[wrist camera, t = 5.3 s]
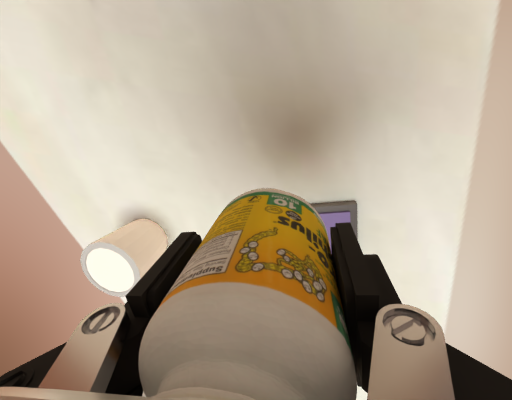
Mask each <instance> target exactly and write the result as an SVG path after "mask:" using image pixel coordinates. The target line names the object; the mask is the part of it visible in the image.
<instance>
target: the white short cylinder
mask: <svg viewBox="0 0 512 400" xmlns="http://www.w3.org/2000/svg"><path fill="white" fill-rule="evenodd" d="M167 246H168V241H167V236H166V234H165V232H164V230H163V229H162V228H161V227H160V226H159V225H158V224H157V223H155V222H153V221H151V220H149V219H142V218H141V219H138V220H134V221H132V222H131V223H129V224H127V225H125V226H123V227H121V228H119V229H117V230H115V231H114V232H112V233H110V234H108V235H106V236H104V237H102V238H100V239H98V240H97V241H95V242H93V243H91V244H89V245H88V246H87V247H86V248H85V249H84V250H83V251H82V255H81V265H82V269H83V272H84V273H85V275H86V276H87V278H88V280H89V281H90V282H91V283H92V284H93V285H94V286H95V287H97V288H98V289H99V290H101V291H103V292H105V293H107V294H109V295H112V296H118V297H124V296H126V295H127V294H128V293H129V291H130V290H131V289H132V288H133V287H134V286H135V285H136V284H137V282H138V281H139V280H140V279H141V278H142V277H143V276H144V275H145V273H146V272H147V271H148V270H149V269H150V268H151V267H152V266H153V264H154V263H155V262H156V261H157V260H158V259H159V258H160V256H161V255H162V254H163V253H164V252H165V251H166V248H167Z"/></svg>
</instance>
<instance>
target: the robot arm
mask: <svg viewBox="0 0 512 400" xmlns="http://www.w3.org/2000/svg"><path fill="white" fill-rule="evenodd" d="M330 234H331V252H332V259H333V264H334V269H335V273H336V279H337V284H338V289H339V293H340V298H341V302H342V307H343V312H344V317H345V322H346V326H347V331H348V336H349V340H350V345H351V350H352V354H353V359H354V365H355V372H356V379H357V385H358V386H360V387H362V389H363V390H365V391H366V392H367V393H368V396H367V400H512V380H511V379H509V378H507V377H505V376H504V375H502V374H500V373H499V372H497V371H495V370H493V369H491V368H489V367H488V366H486V365H484V364H482V363H481V362H479V361H477V360H475V359H474V358H472V357H470V356H468V355H466V354H465V353H463V352H461V351H459V350H457V349H456V348H454V347H452V346H450V345H448V344H447V343H445V338H444V333H443V331H442V328H441V326H440V325H439V324H438V322H437V321H436V320H435V319H434V318H433V317H432V316H430V315H429V314H428V313H426V312H424V311H422V310H421V309H419V308H416V307H413V306H410V305H405V304H402V303H401V301H400V299H399V297H398V295H397V293H396V291H395V289H394V287H393V285H392V283H391V281H390V279H389V277H388V275H387V273H386V271H385V268H384V266H383V264H382V262H381V260H380V258H379V257H378V255H376V254H372V255H363V253H362V250H361V248H360V245H359V243H358V240H357V238H356V235H355V233H354V230H353V228H352V225H351V223H350V222H346V223H335V227H330ZM201 242H202V240H201V237H200V235H197V234H196V232H183V233H181V234H180V235H179V236H178V237H177V238H176V240H175V241H174V242H173V243H172V244H171V245H170V246H169V247H168V249H167V250H166V251H165V252H164V253H163V254H162V255H161V256H160V258H159V259H158V260H157V261H156V262H155V263H154V264H153V266H152V267H151V268H150V269H149V270H148V271H147V272H146V273H145V275H144V276H143V277H142V278H141V279H140V280H139V281H138V282H137V284H136V285H135V286H134V287H133V288H132V289H131V290H130V291H129V293H128V294H127V295H126V299H127V301H128V302H127V303H126V304H125V305H122V304H121V303H111V304H107V305H104V306H102V307H100V308H98V309H96V310H94V311H93V312H91V313H90V314H88V315H87V316H86V317H85V318H84V319H83V320H82V321H81V322H80V323H79V325H78V326H77V328H76V329H75V331H74V332H73V334H72V336H71V337H70V339H69V340H68V342H66V343H64V344H63V345H60V346H58V347H56V348H54V349H52V350H51V351H49V352H47V353H45V354H43V355H41V356H39V357H37V358H35V359H33V360H31V361H29V362H27V363H25V364H23V365H21V366H19V367H17V368H15V369H14V370H12V371H9V372H7V373H5V374H4V375H2V376H1V377H0V400H174V399H163V398H152V397H146V395H145V393H144V390H143V388H142V384H141V380H140V376H139V365H138V362H139V349H140V345H141V341H142V337H143V335H144V332H145V329H146V327H147V325H148V323H149V321H150V320H151V318H152V317H153V315H154V313H155V312H156V310H157V309H158V307H159V306H160V304H161V302H162V301H163V299H164V297H165V296H166V295H167V293H168V292H169V290H170V289H171V287H172V286H173V284H174V283H175V281H176V280H177V278H178V277H179V275H180V274H181V272H182V271H183V269H184V268H185V266H186V265H187V263H188V262H189V260H190V259H191V257H192V256H193V254H194V253H195V251H196V250H197V249H198V247H199V246H200V244H201Z"/></svg>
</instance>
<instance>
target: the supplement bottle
mask: <svg viewBox="0 0 512 400" xmlns="http://www.w3.org/2000/svg"><path fill="white" fill-rule="evenodd" d="M138 365H139V376H140V380H141V384H142V388H143V390H144V393H145V395H146V397H152V398H163V399H174V400H356V394H357V379H356V372H355V365H354V359H353V354H352V350H351V345H350V340H349V336H348V331H347V326H346V322H345V317H344V312H343V307H342V302H341V298H340V293H339V289H338V284H337V279H336V273H335V269H334V264H333V259H332V254H331V249H330V244H329V239H328V234H327V230H326V227H325V225H324V222H323V220H322V219H321V217H320V215H319V214H318V213H317V211H316V210H315V209H314V208H313V207H312V206H311V205H310V204H309V203H308V202H307V201H305V200H304V199H302V198H300V197H298V196H296V195H293V194H291V193H288V192H285V191H281V190H277V189H255V190H251V191H248V192H246V193H244V194H241V195H240V196H238V197H237V198H235V199H234V200H233V201H231V202H230V203H229V204H228V205H227V206H226V207H225V209H224V210H223V211H222V213H221V214H220V215H219V217H218V218H217V220H216V221H215V223H214V224H213V226H212V227H211V229H210V230H209V232H208V233H207V235H206V236H205V238H204V239H203V241H202V242H201V244H200V246H199V247H198V249H197V250H196V251H195V253H194V254H193V256H192V257H191V259H190V260H189V262H188V263H187V265H186V266H185V268H184V269H183V271H182V272H181V274H180V275H179V277H178V278H177V280H176V281H175V283H174V284H173V286H172V287H171V289H170V290H169V292H168V293H167V295H166V296H165V297H164V299H163V301H162V302H161V304H160V306H159V307H158V309H157V310H156V312H155V313H154V315H153V317H152V318H151V320H150V321H149V323H148V325H147V327H146V329H145V332H144V335H143V337H142V341H141V345H140V349H139V362H138Z"/></svg>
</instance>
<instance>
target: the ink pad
mask: <svg viewBox="0 0 512 400" xmlns="http://www.w3.org/2000/svg"><path fill="white" fill-rule="evenodd" d="M310 205H311V206H312V207H313V208H314V209H315V210H316V211H317V213H318V214H319V215H320V217H321V219H322V220H323V222H324V225H325V227H326V230H327V234H328V239H329V244H330V249H331V234H330V227H335V223H346V222H350V223H351V225H352V228H353V230H354V233H355V235H356V238H357V203H356V202H355V201H346V202H333V203H320V204H310ZM331 254H332V252H331Z"/></svg>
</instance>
